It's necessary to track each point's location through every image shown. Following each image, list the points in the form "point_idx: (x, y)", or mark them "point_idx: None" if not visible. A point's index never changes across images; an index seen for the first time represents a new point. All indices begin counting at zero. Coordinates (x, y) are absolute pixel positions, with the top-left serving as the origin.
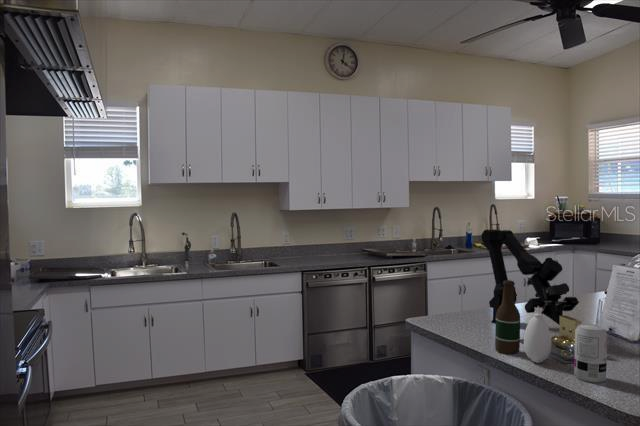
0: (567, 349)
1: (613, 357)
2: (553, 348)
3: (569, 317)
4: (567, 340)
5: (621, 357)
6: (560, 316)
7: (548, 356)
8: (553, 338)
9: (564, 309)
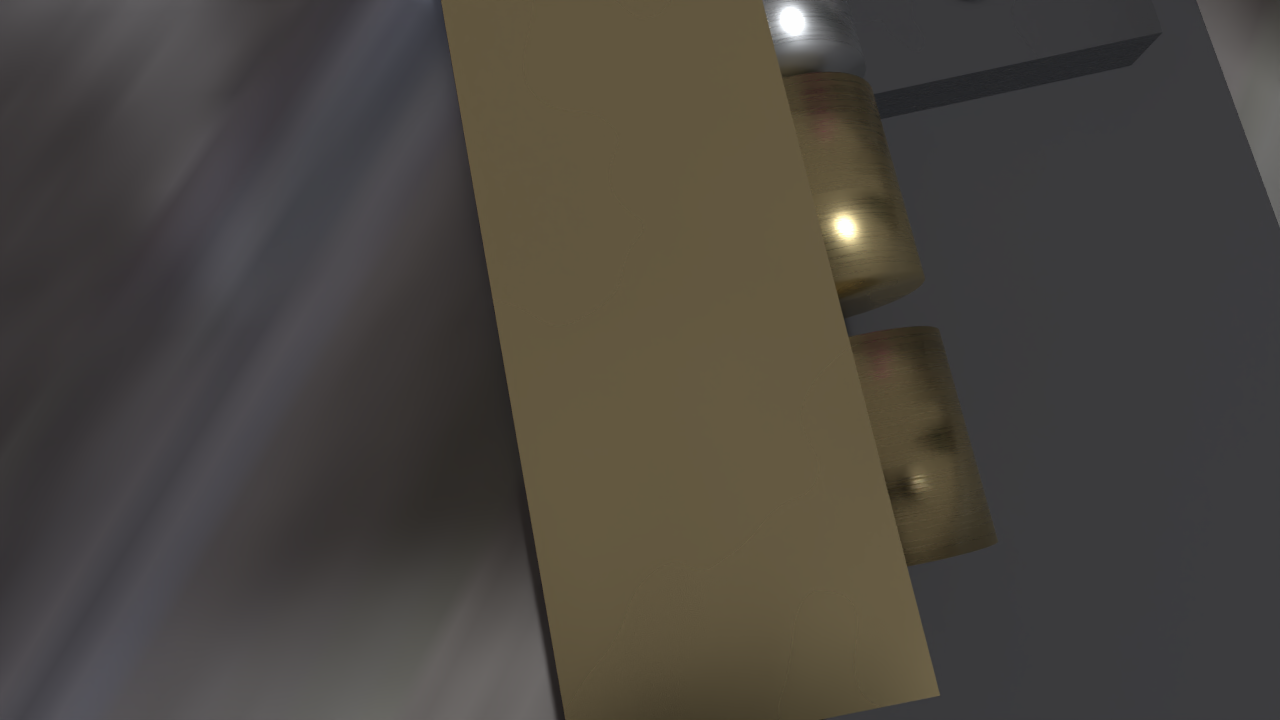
0: None
1: (194, 37)
2: (967, 377)
3: (585, 347)
4: (806, 165)
5: (78, 44)
6: (913, 626)
7: (1187, 17)
8: (976, 484)
9: None
